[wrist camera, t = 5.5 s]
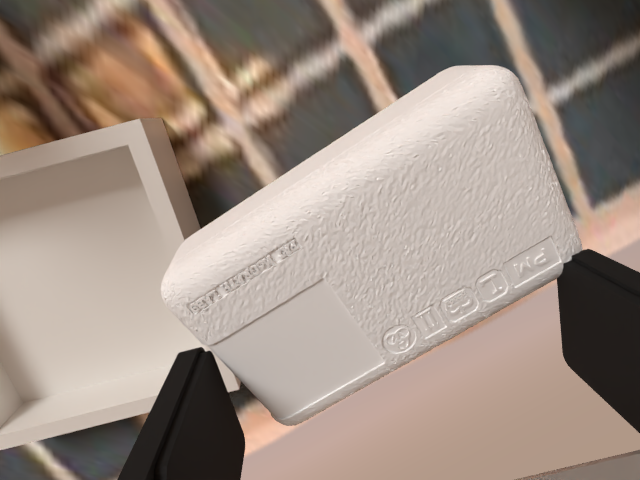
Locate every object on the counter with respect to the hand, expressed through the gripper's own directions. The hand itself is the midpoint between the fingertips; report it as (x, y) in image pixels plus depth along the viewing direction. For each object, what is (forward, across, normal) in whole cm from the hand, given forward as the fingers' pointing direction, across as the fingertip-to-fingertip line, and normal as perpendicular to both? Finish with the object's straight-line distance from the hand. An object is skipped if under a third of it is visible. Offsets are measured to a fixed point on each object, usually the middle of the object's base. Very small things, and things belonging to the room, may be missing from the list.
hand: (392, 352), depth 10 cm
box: (+16, +16, 0) cm, 23 cm away
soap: (+3, 0, -3) cm, 4 cm away
